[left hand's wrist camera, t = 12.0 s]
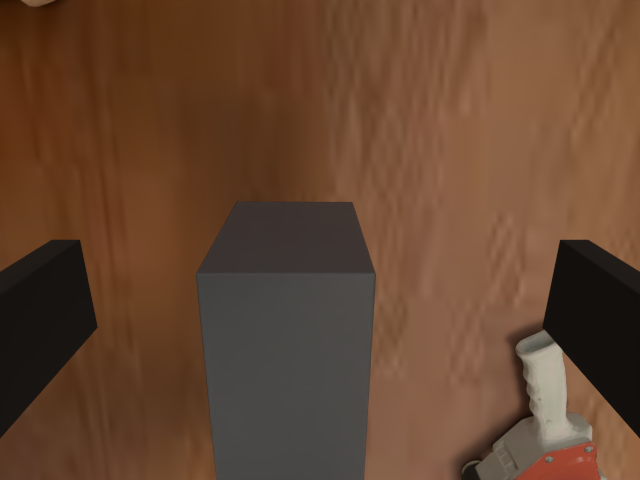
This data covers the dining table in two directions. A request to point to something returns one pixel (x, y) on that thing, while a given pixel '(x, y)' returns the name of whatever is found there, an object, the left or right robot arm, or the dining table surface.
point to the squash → (37, 2)
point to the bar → (288, 341)
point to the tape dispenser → (542, 427)
